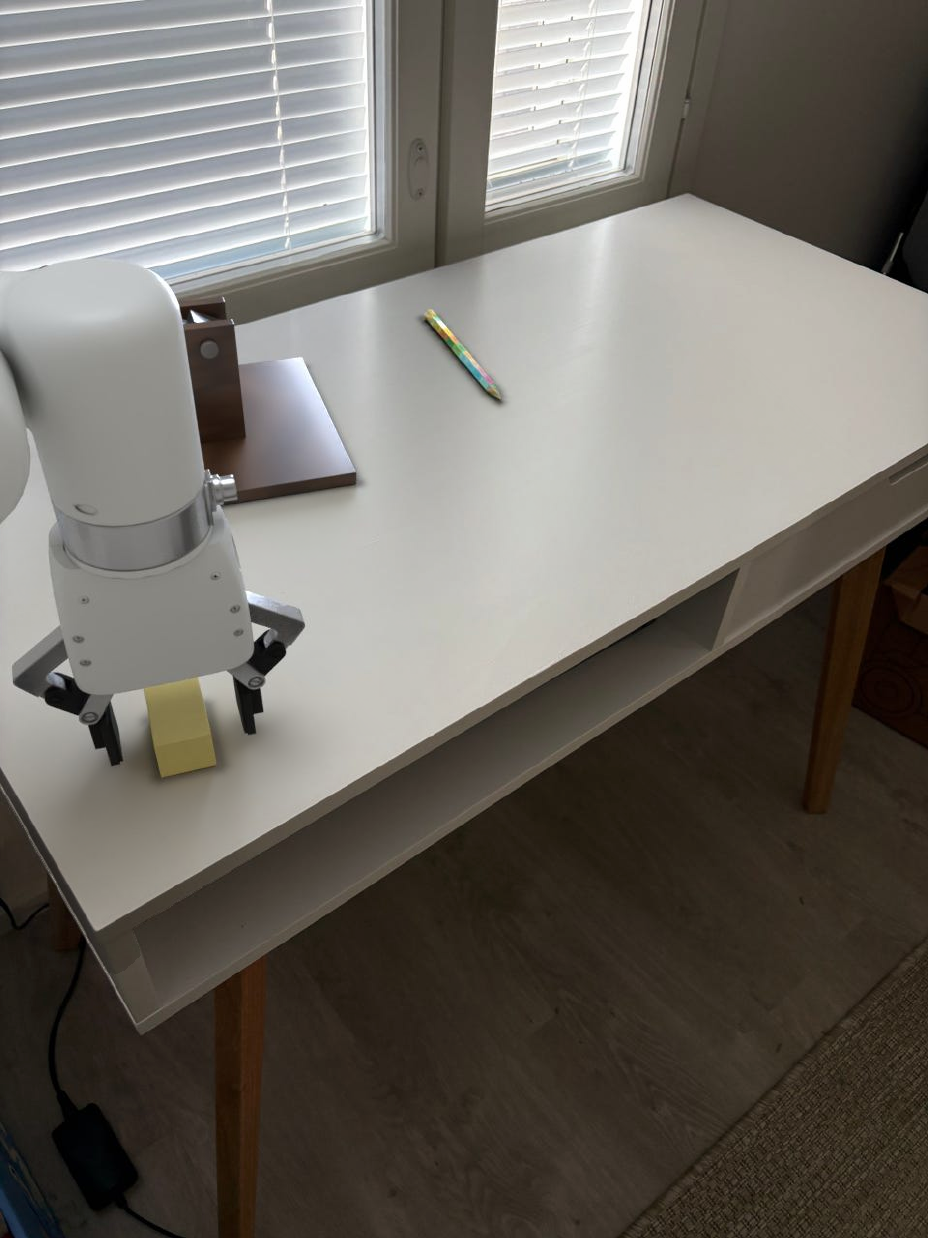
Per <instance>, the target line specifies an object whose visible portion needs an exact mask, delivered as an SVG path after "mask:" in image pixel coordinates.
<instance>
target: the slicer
mask: <svg viewBox="0 0 928 1238" xmlns="http://www.w3.org/2000/svg"><path fill="white" fill-rule="evenodd" d="M177 302H178V304H179V308H180V313H181V318H182V319H185V320H186V319H187V316H188V313H189V311H190V310H192V311H195V312H199V313H202V314H205V315H208V316H212V317H215V318H218V319H222V320H217V321H208V322H199V323H190V324H183V329H184V335H185V342H186V349H187V356H188V362H189V369H190V376H191V383H192V389H193V396H194V403H195V410H196V416H197V423H198V430H199V437H200V443H201V450H202V458H203V464H204V470H209V472H210V475H216V474H218V476H219V477H220V476H226V475H233V477H234V481H235V486H236V491H237V500H231V501H225V502H224V504H222V505H221V506H225V505H231V504H232V505H233V504H238V503H243V502H244V503H245V502H250V501H251V502H252V501H256V500H262V499H263V500H264V499H270V498H275V497H281V496H288V495H293V494H300V493H305V492H307V493H308V492H312V491H319V490H324V489H329V488H330V489H331V488H337V487H343V486H350V485H356V484H357V471H356V469H355V467H354V464H353V463H352V460H351V458H350V456H349V454H348V452H347V450H346V448H345V445H344V444H343V442H342V439H341V437H340V435H339V433H338V431H337V429H336V427H335V424H334V422H333V420H332V418H331V416H330V414H329V412H328V410H327V408H326V405H325V403H324V400H323V399H322V397H321V394H320V392H319V390H318V388H317V386H316V384H315V382H314V380H313V377H312V376H311V374H310V371H309V369H308V368H307V365H306V363H305V361H304V358H303V357H302V356H299V357H290V358H282V359H275V360H266V361H258V362H257V361H256V362H248V363H241V364H239V356H238V348H237V340H236V329H235V323H234V321H233V319H232V318H228V315H227V307H226V306H227V305H226V301H225V298H224V296H218V297H208V298H207V297H206V298H198V299H186V300H177Z"/></svg>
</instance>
